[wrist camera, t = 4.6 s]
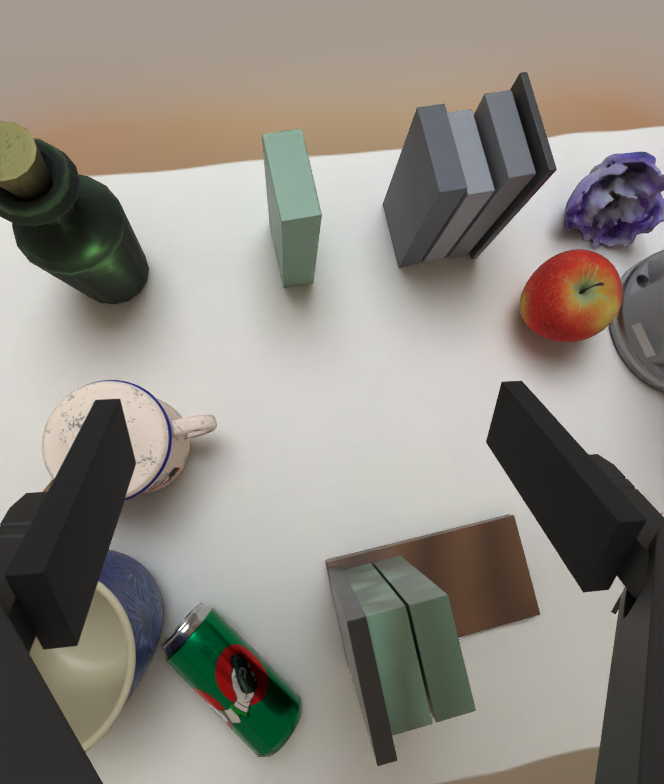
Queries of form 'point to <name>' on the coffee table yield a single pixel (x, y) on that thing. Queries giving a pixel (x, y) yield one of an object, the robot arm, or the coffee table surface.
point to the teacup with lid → (145, 426)
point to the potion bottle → (67, 220)
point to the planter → (105, 650)
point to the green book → (292, 205)
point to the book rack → (425, 620)
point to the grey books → (466, 175)
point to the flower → (617, 200)
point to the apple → (572, 296)
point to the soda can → (233, 680)
